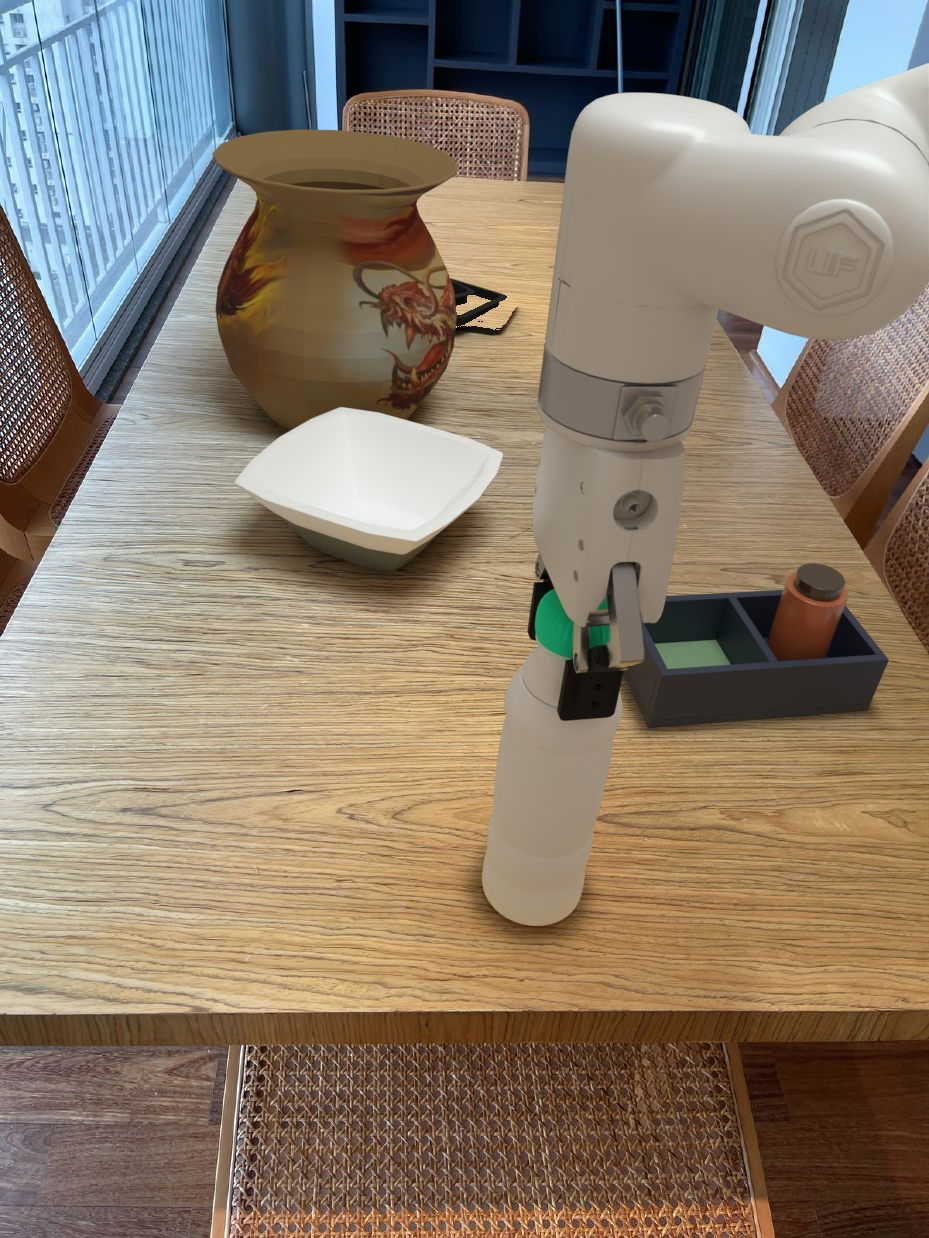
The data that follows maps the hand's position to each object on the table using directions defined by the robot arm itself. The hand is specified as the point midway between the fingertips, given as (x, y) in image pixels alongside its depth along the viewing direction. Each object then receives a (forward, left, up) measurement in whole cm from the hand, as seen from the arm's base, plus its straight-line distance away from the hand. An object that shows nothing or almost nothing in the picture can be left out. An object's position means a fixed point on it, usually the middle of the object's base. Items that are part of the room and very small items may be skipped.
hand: (568, 672), depth 58 cm
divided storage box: (-24, -20, -20) cm, 37 cm away
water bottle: (0, 0, -20) cm, 20 cm away
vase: (+7, -77, -20) cm, 80 cm away
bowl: (+6, -46, -20) cm, 51 cm away
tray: (-9, -109, -20) cm, 111 cm away
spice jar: (-29, -20, -19) cm, 40 cm away
